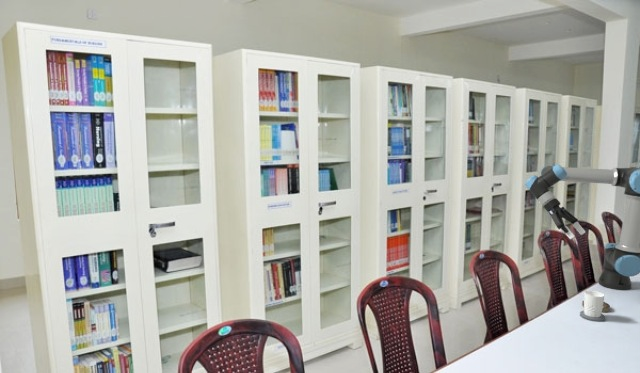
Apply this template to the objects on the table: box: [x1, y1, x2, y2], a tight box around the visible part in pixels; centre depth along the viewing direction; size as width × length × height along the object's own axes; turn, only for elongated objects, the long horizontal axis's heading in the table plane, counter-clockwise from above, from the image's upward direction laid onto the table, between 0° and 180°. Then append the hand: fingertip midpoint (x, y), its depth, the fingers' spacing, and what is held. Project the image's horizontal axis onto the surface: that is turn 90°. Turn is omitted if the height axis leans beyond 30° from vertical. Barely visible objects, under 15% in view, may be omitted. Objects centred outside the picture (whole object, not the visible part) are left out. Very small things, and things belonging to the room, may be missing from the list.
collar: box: [581, 300, 611, 313], centre depth 223 cm, size 11×11×2 cm
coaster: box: [579, 310, 606, 322], centre depth 213 cm, size 10×10×1 cm
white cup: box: [583, 290, 605, 318], centre depth 212 cm, size 8×8×10 cm
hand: (578, 235), depth 233 cm, fingers open, 13 cm apart
